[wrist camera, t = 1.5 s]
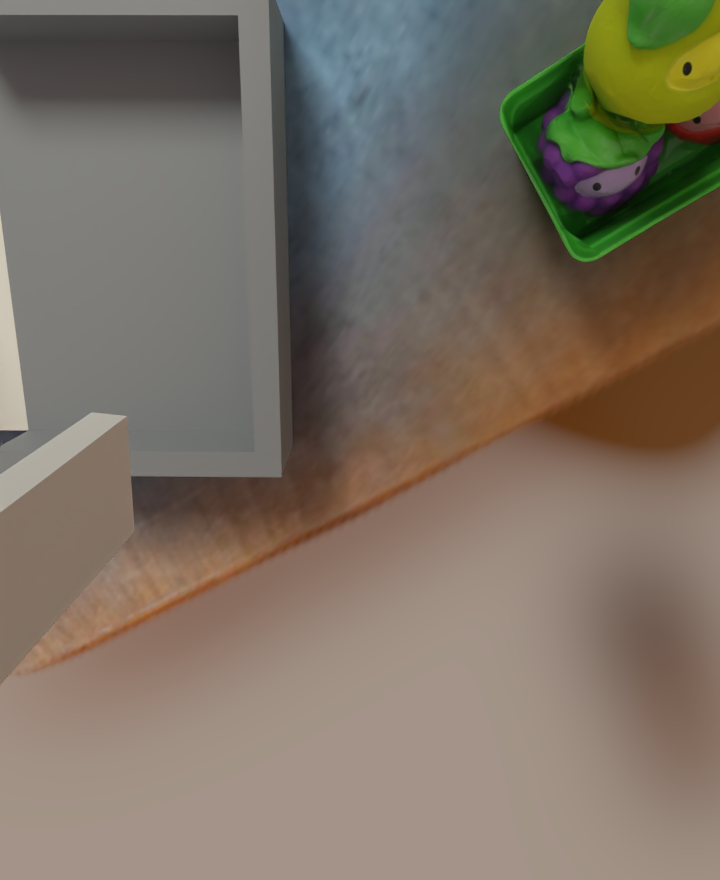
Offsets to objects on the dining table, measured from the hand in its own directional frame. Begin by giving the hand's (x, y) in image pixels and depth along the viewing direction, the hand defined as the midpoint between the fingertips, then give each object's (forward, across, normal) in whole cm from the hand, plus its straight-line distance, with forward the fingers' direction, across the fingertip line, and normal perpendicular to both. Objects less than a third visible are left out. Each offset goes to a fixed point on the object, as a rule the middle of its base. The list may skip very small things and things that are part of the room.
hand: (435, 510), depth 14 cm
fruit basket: (+24, +7, +9) cm, 27 cm away
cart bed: (+21, -16, +2) cm, 26 cm away
